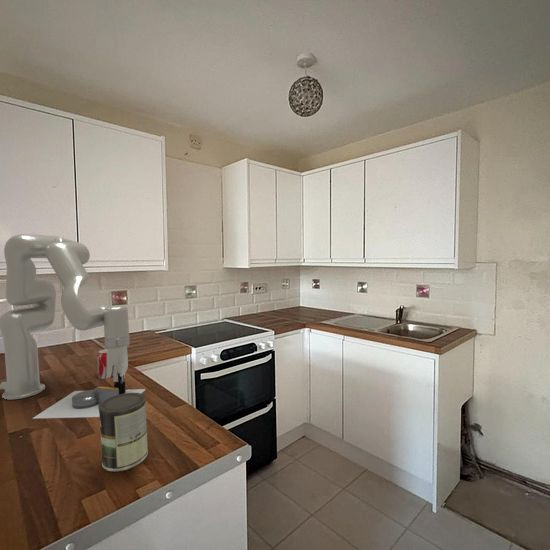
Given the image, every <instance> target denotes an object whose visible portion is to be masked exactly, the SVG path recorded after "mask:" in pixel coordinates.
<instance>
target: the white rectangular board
mask: <svg viewBox="0 0 550 550" xmlns="http://www.w3.org/2000/svg"><path fill="white" fill-rule="evenodd" d="M146 390H147V389H145V388H139V389H126V392H125V393H140V394H143V392H145V391H146ZM83 391H84V390H74V391H73V392H71V393H70V394H68V395H67V396H65V397H63V398H62V399H60V400H58V401H57V402H55V403H53V405H50V406H49V407H48V408H46V409H45V410H43V411H41V412H40V413H39V414H36V415H35V416H34V417H32V418H31V419H33V420H34V419H35V420H36V419H70V418H71V419H72V418H74V419H75V418H76V419H77V418H100V417H99V409H98V407H99V405H100V404H96V405H93V406H90V407H85V408H74V407H73V406H72V397H73V396H74V395H76V394H78V393H80V392H83Z"/></svg>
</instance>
